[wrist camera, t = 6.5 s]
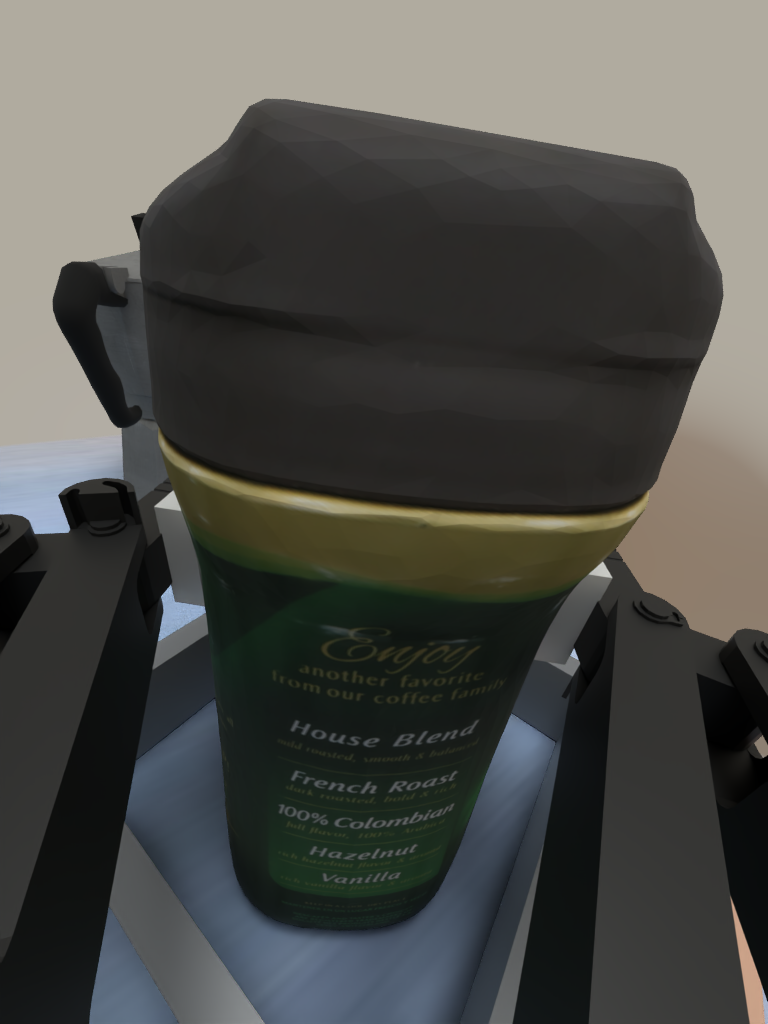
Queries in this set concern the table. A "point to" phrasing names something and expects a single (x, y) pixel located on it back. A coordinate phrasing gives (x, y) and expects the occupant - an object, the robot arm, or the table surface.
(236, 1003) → the charcoal bin
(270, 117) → the coffee jar
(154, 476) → the coffeepot
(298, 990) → the table surface
